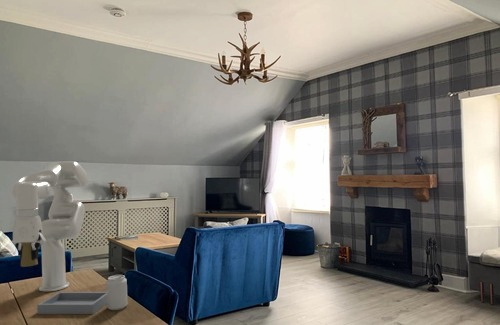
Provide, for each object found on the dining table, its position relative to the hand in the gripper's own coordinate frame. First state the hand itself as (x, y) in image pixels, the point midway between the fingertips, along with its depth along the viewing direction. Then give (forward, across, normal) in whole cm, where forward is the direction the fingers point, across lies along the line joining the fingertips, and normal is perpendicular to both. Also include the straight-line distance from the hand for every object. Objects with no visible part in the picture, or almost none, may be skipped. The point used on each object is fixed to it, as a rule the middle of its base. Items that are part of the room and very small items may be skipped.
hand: (29, 258), depth 152 cm
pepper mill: (+2, 0, 0) cm, 2 cm away
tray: (+19, +19, 0) cm, 27 cm away
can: (+19, +36, 0) cm, 41 cm away
